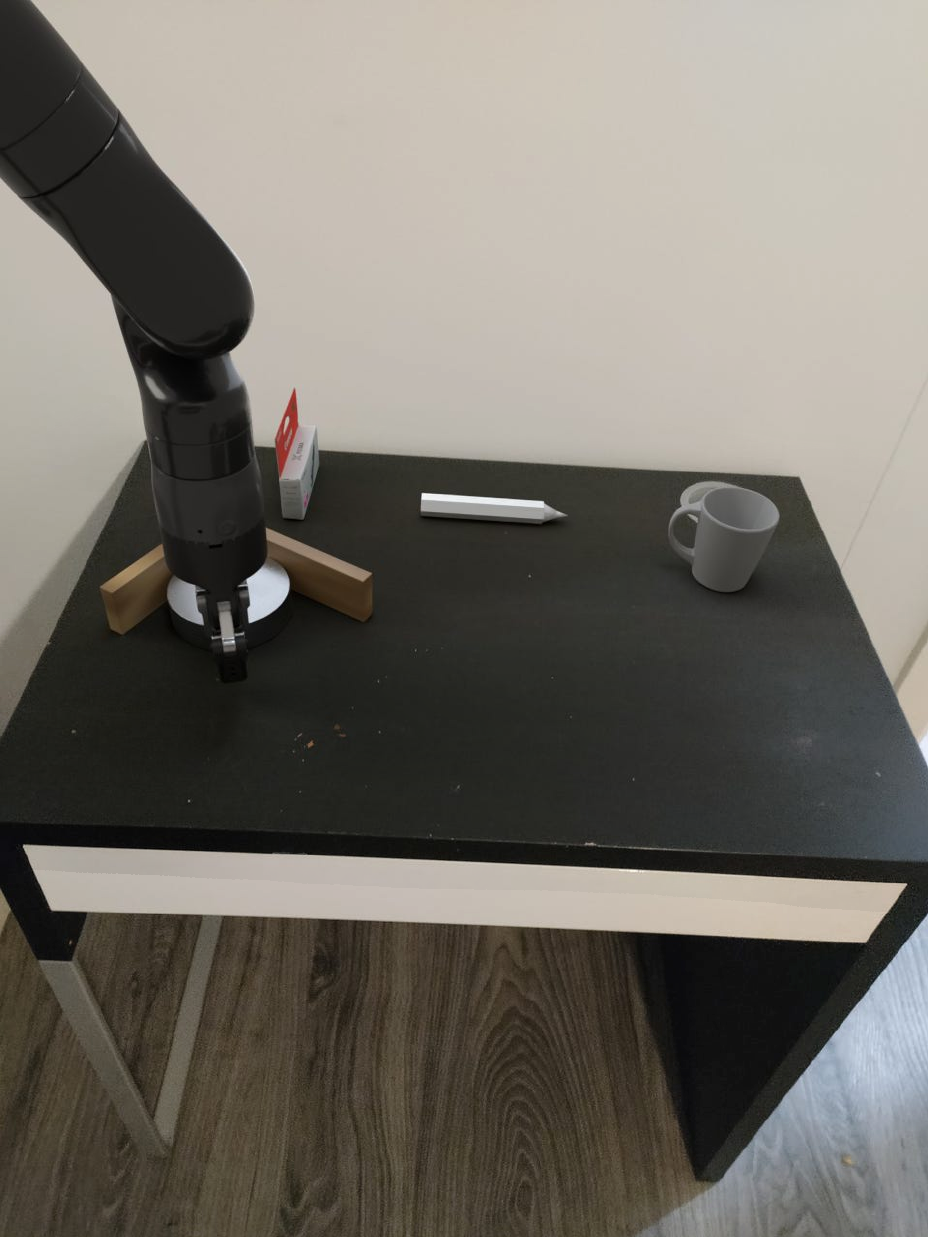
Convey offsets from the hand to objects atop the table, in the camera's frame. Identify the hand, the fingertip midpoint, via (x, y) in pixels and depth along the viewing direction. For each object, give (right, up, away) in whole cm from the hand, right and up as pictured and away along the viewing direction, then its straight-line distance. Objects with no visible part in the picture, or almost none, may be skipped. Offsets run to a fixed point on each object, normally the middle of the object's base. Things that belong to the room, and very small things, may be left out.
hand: (233, 676), depth 78 cm
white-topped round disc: (-2, +6, +9) cm, 11 cm away
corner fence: (-1, +5, +8) cm, 9 cm away
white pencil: (+23, +16, +23) cm, 36 cm away
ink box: (+1, +19, +24) cm, 31 cm away
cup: (+45, +9, +18) cm, 49 cm away
